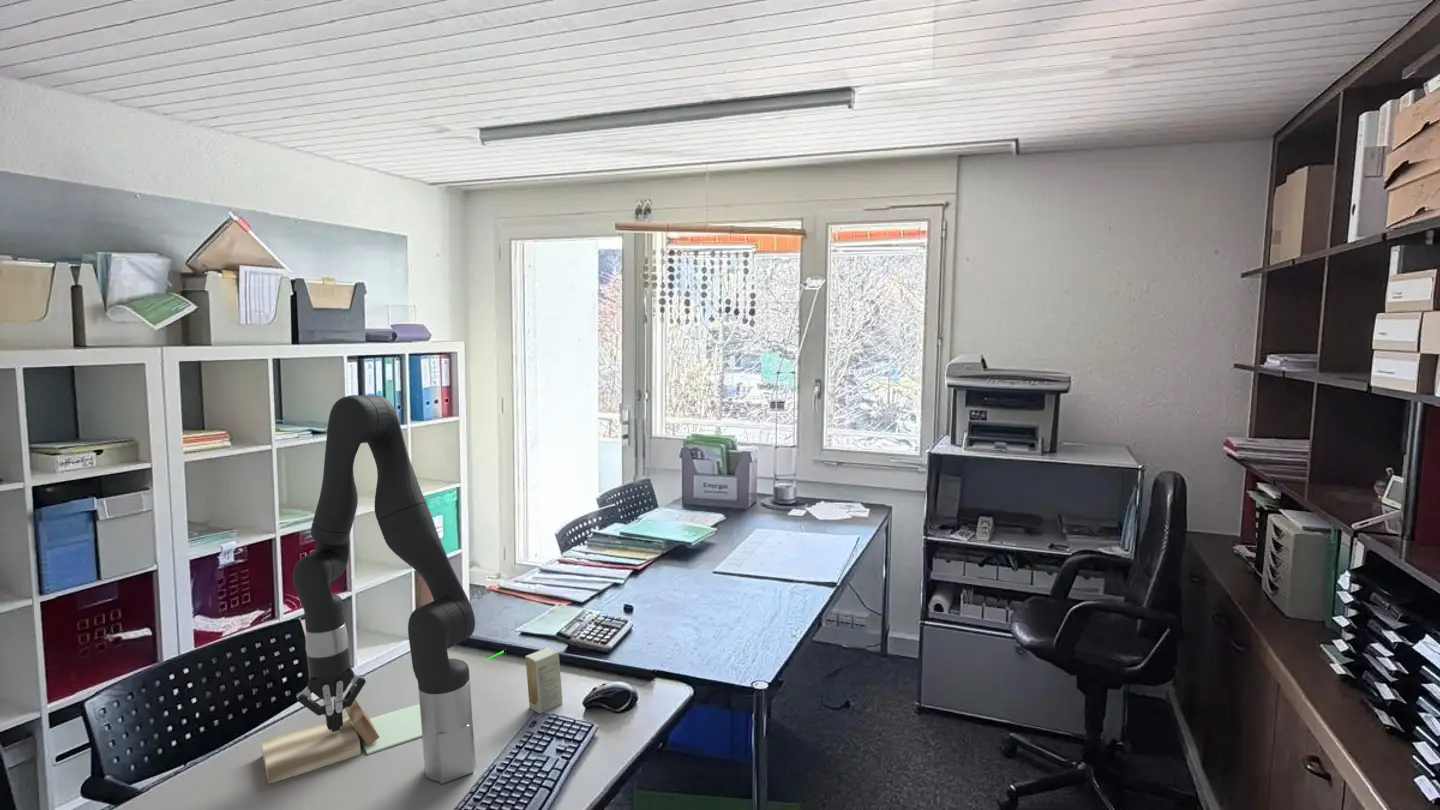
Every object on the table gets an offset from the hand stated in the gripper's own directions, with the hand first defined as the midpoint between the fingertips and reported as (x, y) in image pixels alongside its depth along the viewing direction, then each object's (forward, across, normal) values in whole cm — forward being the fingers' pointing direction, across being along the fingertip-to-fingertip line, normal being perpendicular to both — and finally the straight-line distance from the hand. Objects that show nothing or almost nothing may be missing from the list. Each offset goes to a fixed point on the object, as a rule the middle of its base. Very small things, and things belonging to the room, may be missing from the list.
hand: (335, 729), depth 156 cm
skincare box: (+4, +40, -11) cm, 42 cm away
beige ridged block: (+4, -5, 0) cm, 6 cm away
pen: (+5, +43, +22) cm, 48 cm away
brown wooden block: (0, +5, 0) cm, 5 cm away
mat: (+4, +14, 0) cm, 15 cm away
